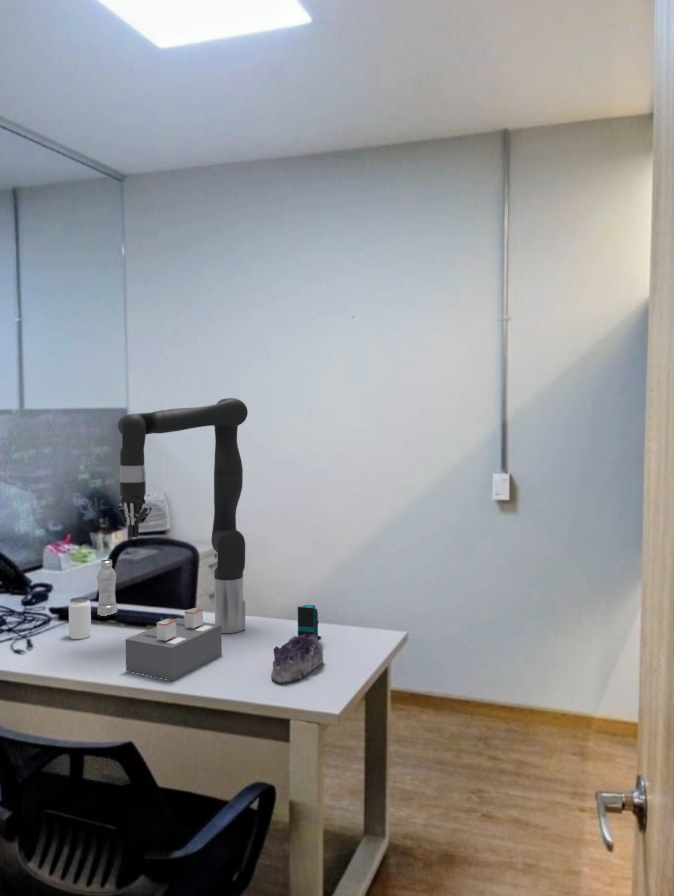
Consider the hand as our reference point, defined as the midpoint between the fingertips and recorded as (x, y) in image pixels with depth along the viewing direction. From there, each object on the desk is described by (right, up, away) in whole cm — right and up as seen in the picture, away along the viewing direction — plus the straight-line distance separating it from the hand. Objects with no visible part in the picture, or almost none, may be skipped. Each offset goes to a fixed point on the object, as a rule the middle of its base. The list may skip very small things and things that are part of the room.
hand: (133, 536), depth 213 cm
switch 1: (+15, -25, -22) cm, 37 cm away
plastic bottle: (-17, -32, +29) cm, 46 cm away
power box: (+16, -34, -15) cm, 40 cm away
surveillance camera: (+54, -33, +3) cm, 63 cm away
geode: (+51, -34, -22) cm, 65 cm away
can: (-19, -33, +8) cm, 39 cm away
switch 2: (+21, -25, -11) cm, 34 cm away
